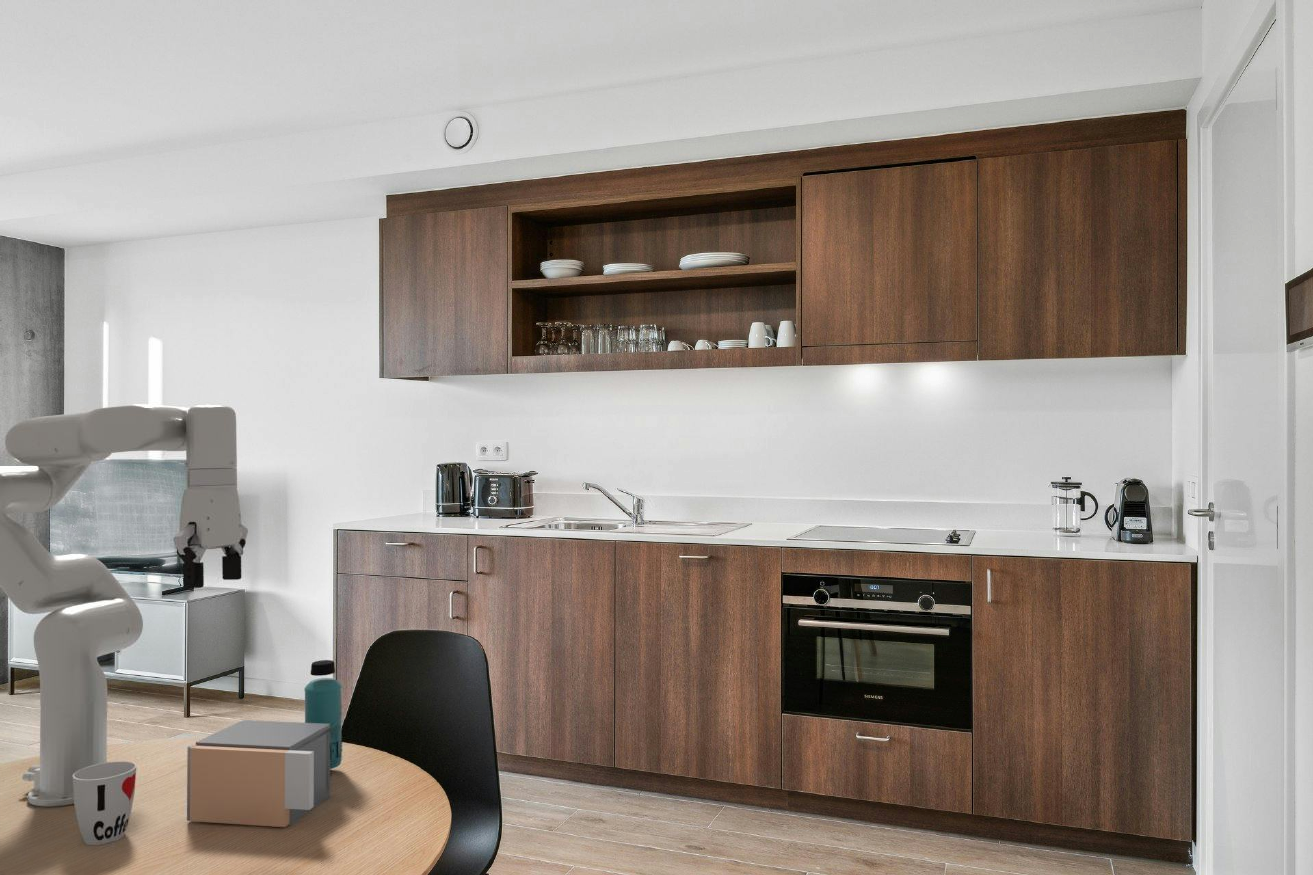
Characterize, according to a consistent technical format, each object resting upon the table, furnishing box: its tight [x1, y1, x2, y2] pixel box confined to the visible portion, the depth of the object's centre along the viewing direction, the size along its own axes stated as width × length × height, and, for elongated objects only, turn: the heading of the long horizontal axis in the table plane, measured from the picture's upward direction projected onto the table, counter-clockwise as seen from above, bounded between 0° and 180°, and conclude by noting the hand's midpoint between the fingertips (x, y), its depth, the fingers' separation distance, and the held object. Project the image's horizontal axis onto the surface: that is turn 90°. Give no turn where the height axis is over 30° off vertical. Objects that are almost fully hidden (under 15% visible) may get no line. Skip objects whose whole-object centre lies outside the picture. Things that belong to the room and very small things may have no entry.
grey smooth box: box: [195, 719, 331, 827], centre depth 143 cm, size 16×12×12 cm
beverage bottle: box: [304, 659, 343, 770], centre depth 159 cm, size 6×7×20 cm
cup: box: [73, 760, 137, 846], centre depth 132 cm, size 8×8×10 cm
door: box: [186, 745, 315, 828], centre depth 136 cm, size 21×1×11 cm, turn 81°
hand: (213, 583), depth 146 cm, fingers open, 9 cm apart
